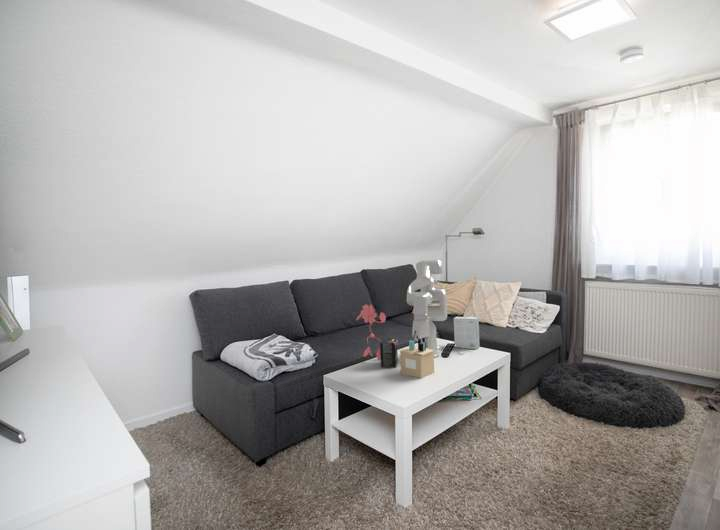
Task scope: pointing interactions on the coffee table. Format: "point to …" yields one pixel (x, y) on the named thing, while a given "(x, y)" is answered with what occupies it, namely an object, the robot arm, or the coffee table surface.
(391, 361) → the tampon box
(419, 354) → the flap
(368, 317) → the figurine
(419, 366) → the carton
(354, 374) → the coffee table surface
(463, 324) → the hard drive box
